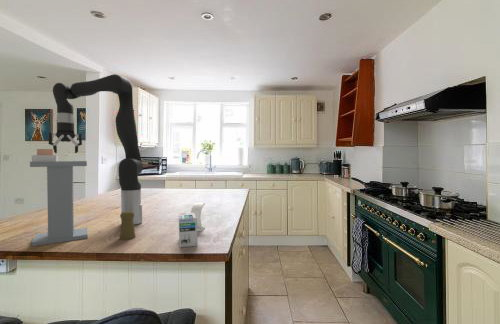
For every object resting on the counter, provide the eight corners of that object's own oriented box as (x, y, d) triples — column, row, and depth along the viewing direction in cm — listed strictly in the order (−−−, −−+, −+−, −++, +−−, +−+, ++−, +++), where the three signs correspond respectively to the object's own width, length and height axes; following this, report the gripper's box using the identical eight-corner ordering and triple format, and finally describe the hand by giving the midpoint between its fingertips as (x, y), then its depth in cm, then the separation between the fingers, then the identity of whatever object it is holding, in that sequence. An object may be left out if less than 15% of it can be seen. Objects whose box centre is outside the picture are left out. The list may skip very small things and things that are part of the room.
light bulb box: (197, 246, 96) (197, 217, 96) (179, 248, 94) (179, 218, 94) (195, 237, 106) (195, 211, 106) (178, 239, 104) (178, 213, 104)
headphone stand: (205, 228, 121) (204, 202, 121) (199, 231, 115) (199, 205, 115) (195, 227, 122) (195, 202, 122) (190, 231, 116) (190, 204, 116)
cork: (129, 240, 103) (128, 213, 103) (116, 239, 104) (115, 212, 104) (138, 235, 109) (138, 210, 109) (126, 235, 110) (125, 209, 110)
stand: (87, 230, 117) (86, 155, 117) (87, 238, 106) (86, 155, 106) (36, 237, 107) (35, 155, 107) (31, 246, 97) (29, 155, 96)
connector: (56, 161, 118) (56, 150, 118) (52, 161, 103) (52, 149, 103) (43, 161, 115) (42, 150, 115) (36, 161, 101) (36, 148, 101)
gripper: (81, 124, 142) (82, 153, 142) (49, 122, 134) (49, 153, 134) (81, 122, 135) (82, 153, 136) (47, 120, 128) (48, 153, 128)
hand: (66, 153), depth 135 cm, fingers open, 8 cm apart
